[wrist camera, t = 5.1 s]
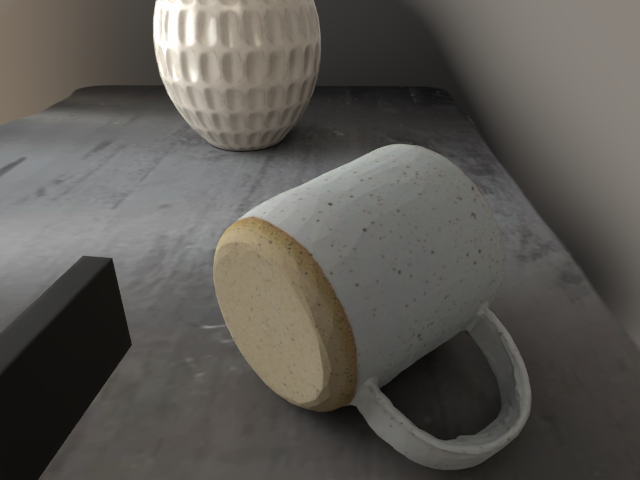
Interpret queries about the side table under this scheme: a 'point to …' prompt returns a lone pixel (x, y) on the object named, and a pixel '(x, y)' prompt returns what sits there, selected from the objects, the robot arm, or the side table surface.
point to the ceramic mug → (372, 293)
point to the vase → (238, 66)
